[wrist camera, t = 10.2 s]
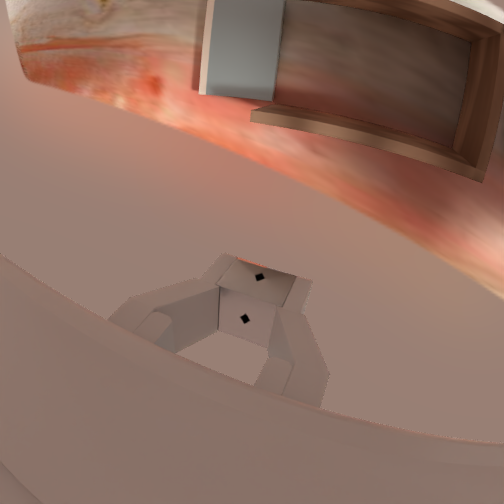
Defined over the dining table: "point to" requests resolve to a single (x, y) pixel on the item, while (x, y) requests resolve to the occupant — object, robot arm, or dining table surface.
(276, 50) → the panel
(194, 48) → the dining table surface
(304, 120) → the crate
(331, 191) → the dining table surface
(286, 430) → the robot arm
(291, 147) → the dining table surface
